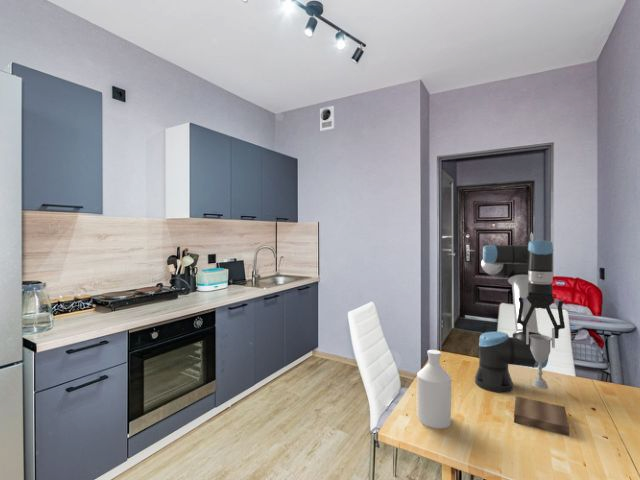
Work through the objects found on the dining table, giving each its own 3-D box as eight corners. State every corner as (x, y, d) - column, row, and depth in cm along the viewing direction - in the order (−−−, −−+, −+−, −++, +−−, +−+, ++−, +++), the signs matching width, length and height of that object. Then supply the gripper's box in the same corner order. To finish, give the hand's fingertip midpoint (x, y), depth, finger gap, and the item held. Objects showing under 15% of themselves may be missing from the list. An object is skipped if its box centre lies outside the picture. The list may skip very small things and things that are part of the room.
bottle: (432, 432, 116) (431, 359, 115) (410, 415, 127) (410, 348, 126) (458, 424, 120) (458, 354, 120) (435, 408, 131) (435, 344, 131)
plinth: (514, 422, 121) (514, 414, 121) (515, 403, 135) (515, 396, 135) (569, 436, 113) (569, 427, 113) (564, 414, 126) (564, 406, 126)
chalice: (548, 383, 126) (548, 335, 125) (554, 391, 119) (554, 340, 119) (526, 380, 128) (526, 333, 128) (531, 388, 122) (531, 338, 121)
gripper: (508, 282, 125) (508, 343, 126) (575, 286, 115) (575, 353, 115) (509, 279, 132) (509, 338, 132) (573, 283, 121) (573, 346, 121)
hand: (540, 344), depth 123 cm, fingers closed on chalice, 7 cm apart
